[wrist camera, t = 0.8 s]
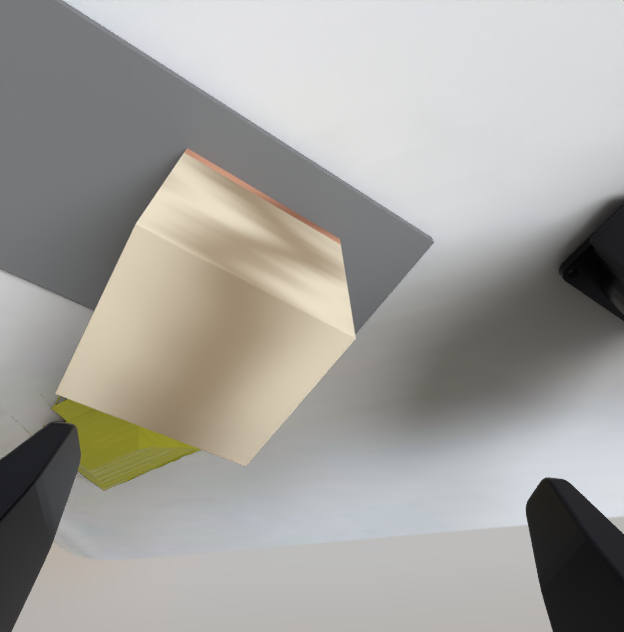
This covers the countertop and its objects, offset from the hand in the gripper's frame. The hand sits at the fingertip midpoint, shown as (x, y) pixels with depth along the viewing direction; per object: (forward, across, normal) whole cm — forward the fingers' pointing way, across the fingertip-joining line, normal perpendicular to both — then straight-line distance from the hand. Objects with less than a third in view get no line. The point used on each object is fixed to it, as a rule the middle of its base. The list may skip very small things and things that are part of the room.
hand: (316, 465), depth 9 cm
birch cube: (+13, +3, +3) cm, 13 cm away
